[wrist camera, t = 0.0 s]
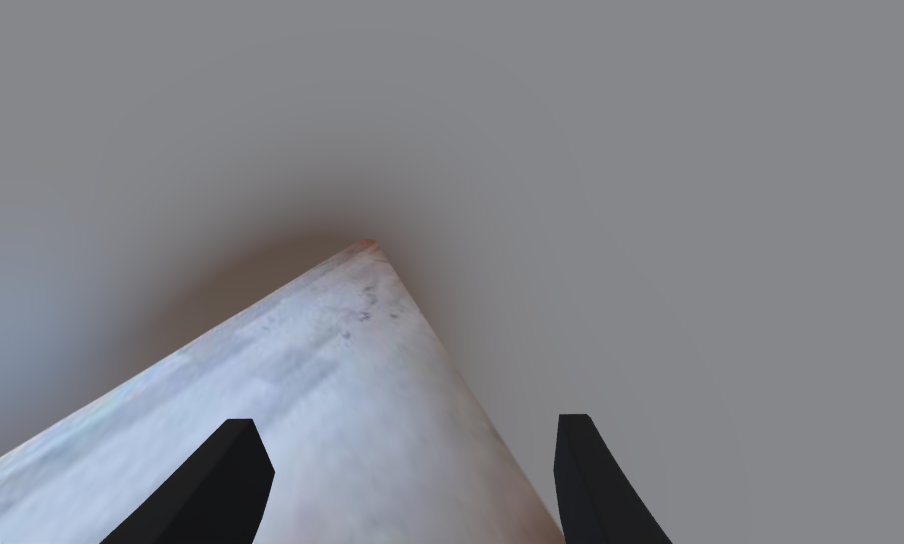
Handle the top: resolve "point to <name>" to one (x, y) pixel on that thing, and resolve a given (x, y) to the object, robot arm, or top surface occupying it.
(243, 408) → the top surface
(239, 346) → the top surface
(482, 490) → the top surface
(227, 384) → the top surface
